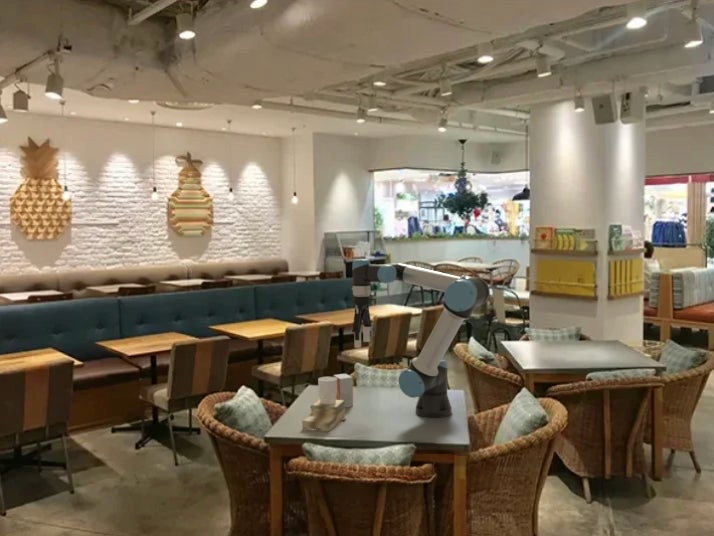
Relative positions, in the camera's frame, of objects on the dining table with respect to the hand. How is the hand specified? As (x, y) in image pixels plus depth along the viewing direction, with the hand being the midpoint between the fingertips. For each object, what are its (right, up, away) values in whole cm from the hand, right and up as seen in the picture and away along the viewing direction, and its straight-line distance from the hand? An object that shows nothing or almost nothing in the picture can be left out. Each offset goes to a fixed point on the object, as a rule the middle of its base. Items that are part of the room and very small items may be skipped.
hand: (362, 344), depth 279 cm
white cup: (-14, -23, -11) cm, 29 cm away
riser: (-16, -30, -15) cm, 37 cm away
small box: (-8, -28, +11) cm, 32 cm away
